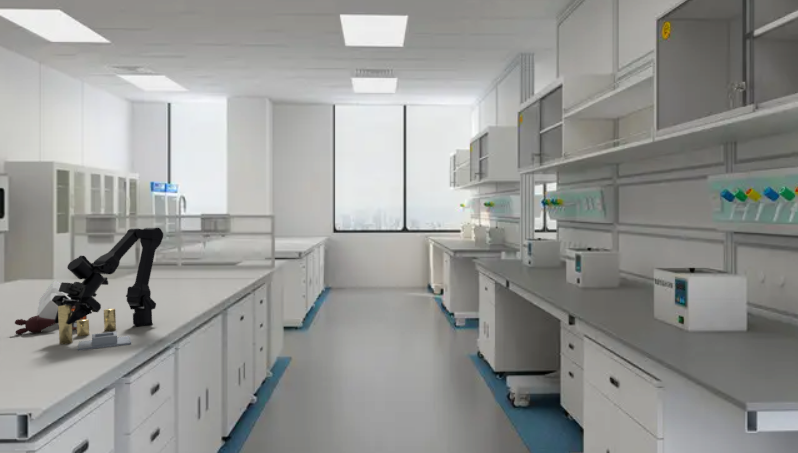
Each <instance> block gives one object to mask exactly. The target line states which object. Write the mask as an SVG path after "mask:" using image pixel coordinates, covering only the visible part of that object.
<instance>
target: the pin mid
mask: <svg viewBox="0 0 798 453" xmlns="http://www.w3.org/2000/svg"><path fill="white" fill-rule="evenodd" d="M116 315H117V314H116V308H106V309H105V308H104V309H103V324H104V325H103V328H104V332H116V330H117V323H116V322H117V321H116V318H117V317H116Z"/></svg>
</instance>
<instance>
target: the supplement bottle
mask: <svg viewBox="0 0 798 453" xmlns="http://www.w3.org/2000/svg"><path fill="white" fill-rule="evenodd" d="M74 310H75V306H73V307H72V308H71V311H72V312H71V313H73V312H74ZM87 316H88V315H86V316H84V317H82V318H80V319H79V320H82V319H88V317H87ZM73 330H74V331H75V330H76V331H77V321H75V322H73V323H72V331H73Z"/></svg>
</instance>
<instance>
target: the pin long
mask: <svg viewBox="0 0 798 453" xmlns="http://www.w3.org/2000/svg"><path fill="white" fill-rule="evenodd" d="M71 315H72V313H71V305H61V306H58V320H59V324H58V340H59V341H58V343H59V345H68V344H69V345H70V344H72V343H73V341H74V340H73V330H72V324H70V325H68V324H67V321H68V320H69V318H70V316H71Z"/></svg>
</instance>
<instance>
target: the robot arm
mask: <svg viewBox="0 0 798 453" xmlns="http://www.w3.org/2000/svg"><path fill="white" fill-rule="evenodd" d="M163 238H164V232H163V230H162V228H160V227H144V228H142V229H141V228H137V227H136V228H130V229H128V230H127V232H126V234H124V235H123V237H122V238H121V239H119V241H118V242H117V243H116V244H115V245H114V246H113V247H112V248H111V249H110V250H109V251H108V252H107V253H104V254H103V255H100V256H99V257H98V258H97V259H95V260H94V261H93V262H90V261H89V260H88V258H87V257H86V255H79V256H78V257H76V258H75V259H73V260H71V261H70V262H69V263H68V264H67V270H68V271H69V272H71V274H73V275H74V276H75V278H77V279H78V280H83V281H82V282H80V281H74V282H60V283H61V285H60V288H59V292H64V293H67V294H68V295H67V296H68V297H70V298H71V300H70V299H68V298H67V297H66V296H65V295H56V296H54V298H53V299H52V301H53V302H54V303H55V304H57V305H58V306H61V305H71V308H72V307H73V306H75V310H74V312H73V313H72V315H71V316H70V318H69V320H68V321H67V324H68V325H70V324H72V323H73V322H75V321H77V320H79V319H80V318H82V317H84V316H86V315H87V316H88V315H91V314H92V313H99V312H100V310H102V309H101V308H102V304H101V303H100V302H99V301H98V300H96V299H95V298H96V296H97V295H98V293H97V291H98V290H99V289H100V287H101V285H102V286H103V285H104V286H106V285H107V286H108V285H109V281H108V277H104V276H103V275H113V274H114V273H115V272H116V270H117V269H118V267H119V266H120V261H121V259H122V258H123V257H124V256H125V255H126V253H128V252H129V250H131V248H132V247H133V246H134V245H135V243H137V242H138V241H139V242H140V245H141V253H140V258H139V262H138V263H139V264H138V268H137V272H136V273H137V274H136V277H135V281H134V284H133V285H132V286H128V287H127V293H126V295H125V297H126V302H127V304H128V305H129V306H128V307H129V308H130V310H133V313H132V323H133V325H134V327H141V326H152V325H154V323H153V310H155V309H156V307H157V303H156V302H155V301H154V300H153V298H151V293H152V292H151V289H150V286H149V282H150V279H151V274H152V269H153V268H152V267H153V264H154V259H155V254H156V251H157V249H158V248H159V247H160V246H161V244H162V241H163ZM71 312H72V311H71ZM54 322H55V323H56V324H55V325H58V324H57V323H58V322H59V320H58V311H57V314H56V317H55V320H54Z"/></svg>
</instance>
